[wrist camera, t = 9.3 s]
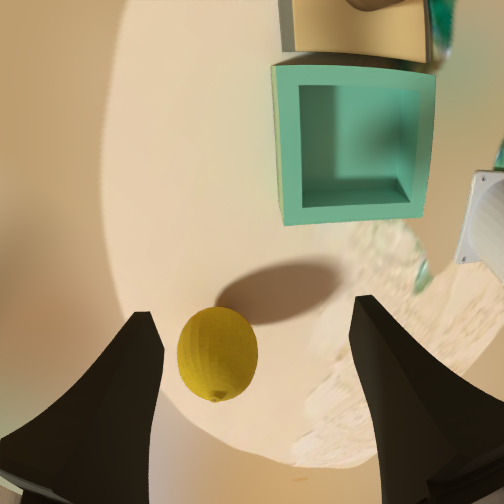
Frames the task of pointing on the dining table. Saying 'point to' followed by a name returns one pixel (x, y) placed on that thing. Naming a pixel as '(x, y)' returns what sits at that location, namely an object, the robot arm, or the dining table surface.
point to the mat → (288, 27)
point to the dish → (351, 142)
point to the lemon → (217, 354)
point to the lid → (361, 27)
